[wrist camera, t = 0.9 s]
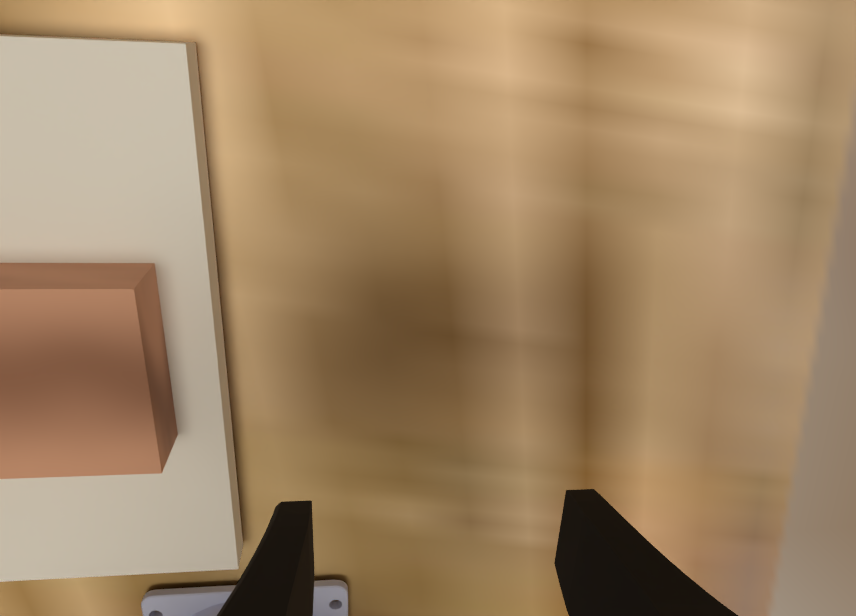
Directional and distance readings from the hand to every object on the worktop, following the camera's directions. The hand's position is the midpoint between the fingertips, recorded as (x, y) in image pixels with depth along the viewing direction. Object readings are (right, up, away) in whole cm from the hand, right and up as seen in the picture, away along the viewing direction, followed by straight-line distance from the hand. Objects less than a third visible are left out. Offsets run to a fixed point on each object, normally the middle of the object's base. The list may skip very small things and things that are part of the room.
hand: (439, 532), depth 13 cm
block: (-12, +3, +6) cm, 14 cm away
